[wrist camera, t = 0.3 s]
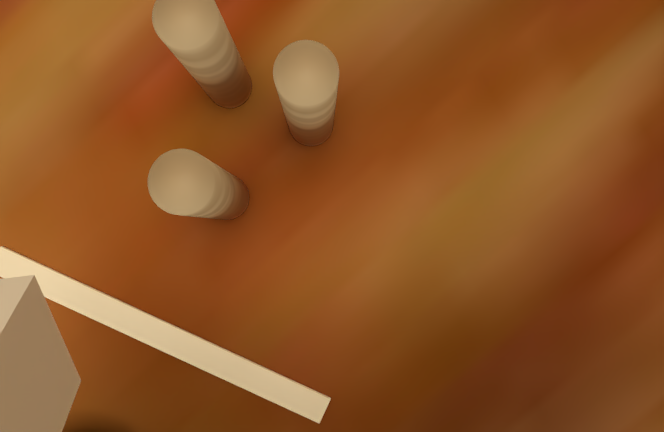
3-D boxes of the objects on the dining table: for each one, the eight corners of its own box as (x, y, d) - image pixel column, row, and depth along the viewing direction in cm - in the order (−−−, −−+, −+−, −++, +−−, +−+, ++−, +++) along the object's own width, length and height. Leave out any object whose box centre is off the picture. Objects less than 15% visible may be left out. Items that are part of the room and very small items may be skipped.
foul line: (330, 397, 27) (330, 398, 27) (319, 422, 27) (319, 423, 27) (3, 246, 27) (0, 246, 27) (-9, 270, 27) (-11, 271, 27)
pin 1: (252, 107, 28) (219, 48, 19) (207, 108, 28) (152, 50, 19) (251, 63, 28) (217, -18, 19) (206, 64, 28) (151, -16, 19)
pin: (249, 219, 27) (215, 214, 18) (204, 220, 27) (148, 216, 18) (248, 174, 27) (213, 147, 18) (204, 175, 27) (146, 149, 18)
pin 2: (334, 145, 28) (340, 104, 19) (289, 146, 28) (274, 106, 19) (332, 101, 28) (338, 38, 19) (288, 102, 28) (272, 40, 19)
